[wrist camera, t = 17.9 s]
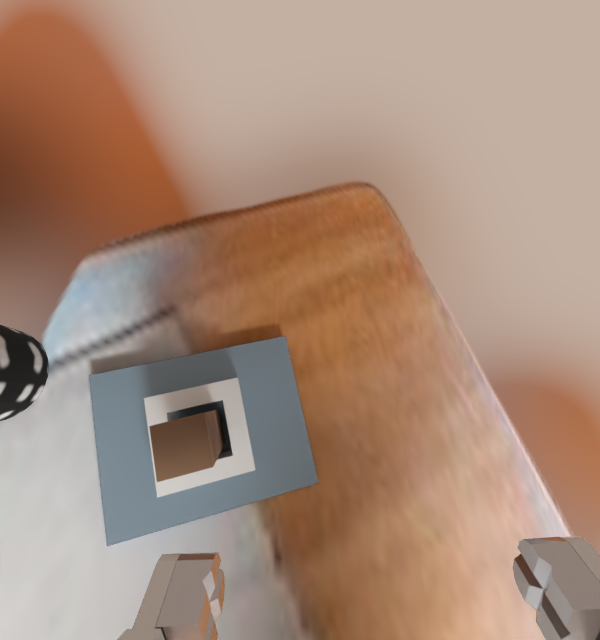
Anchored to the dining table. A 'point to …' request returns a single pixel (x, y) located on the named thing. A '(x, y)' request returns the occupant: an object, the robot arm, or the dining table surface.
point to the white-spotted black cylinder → (20, 371)
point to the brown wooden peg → (187, 444)
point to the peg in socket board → (189, 399)
